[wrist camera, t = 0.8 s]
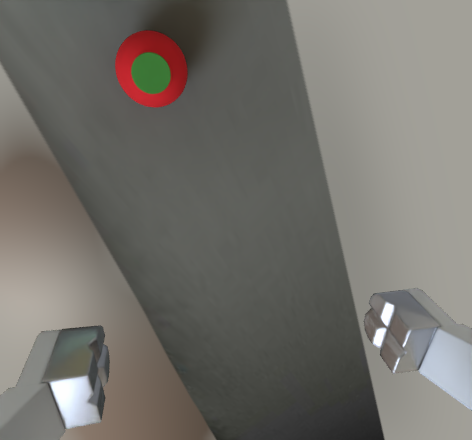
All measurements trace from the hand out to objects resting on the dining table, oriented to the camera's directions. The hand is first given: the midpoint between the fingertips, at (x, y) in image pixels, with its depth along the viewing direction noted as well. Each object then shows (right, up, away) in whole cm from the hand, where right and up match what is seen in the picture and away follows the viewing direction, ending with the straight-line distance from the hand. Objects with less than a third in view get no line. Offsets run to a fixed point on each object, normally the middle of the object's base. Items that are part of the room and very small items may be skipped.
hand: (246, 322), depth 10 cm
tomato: (-7, +15, +15) cm, 22 cm away
